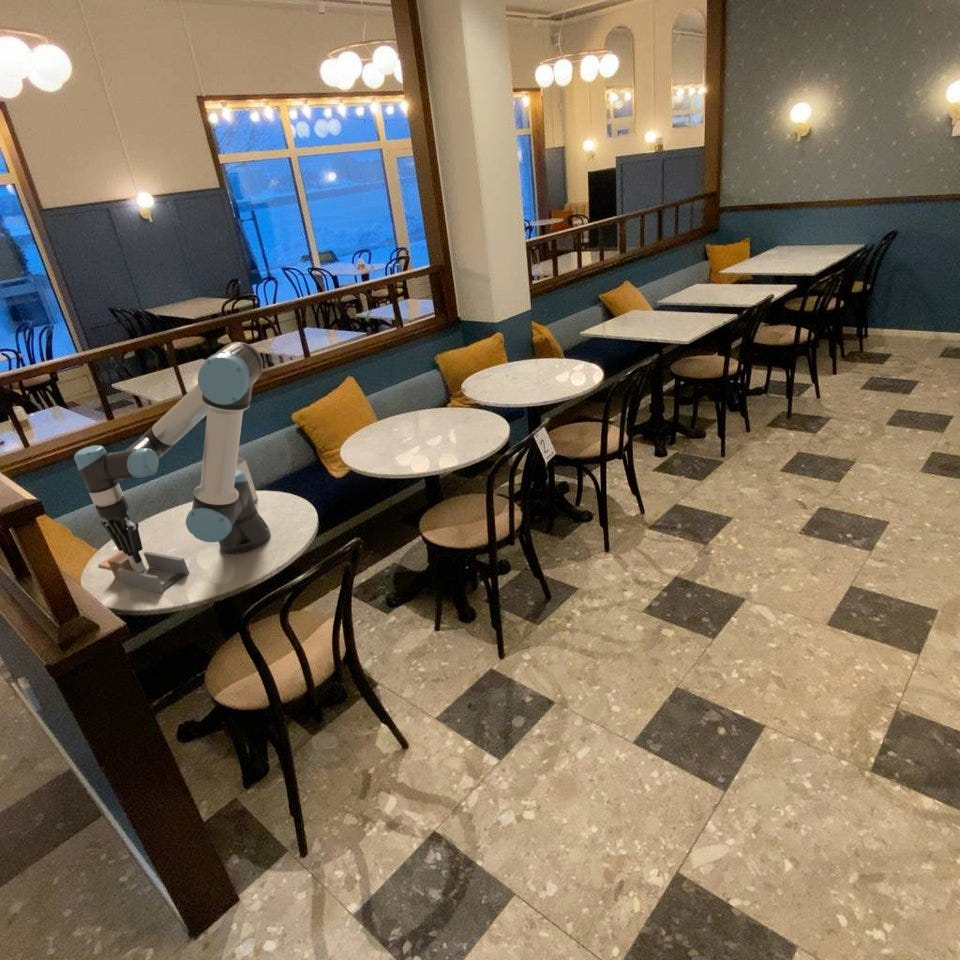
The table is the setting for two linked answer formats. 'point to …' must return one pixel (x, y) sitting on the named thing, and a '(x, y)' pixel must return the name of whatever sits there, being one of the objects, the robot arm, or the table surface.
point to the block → (119, 563)
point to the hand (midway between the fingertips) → (140, 571)
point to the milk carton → (243, 467)
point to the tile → (105, 563)
